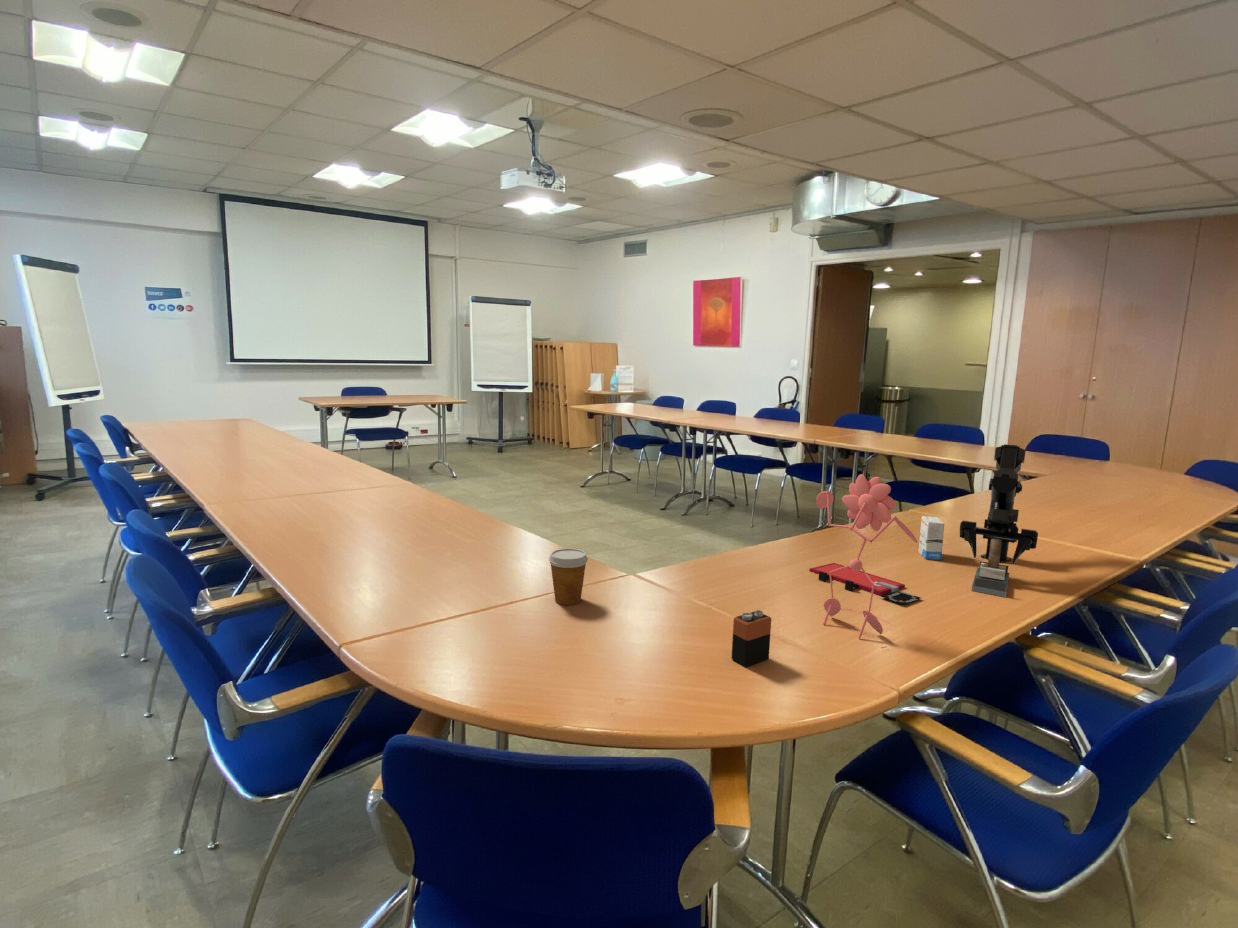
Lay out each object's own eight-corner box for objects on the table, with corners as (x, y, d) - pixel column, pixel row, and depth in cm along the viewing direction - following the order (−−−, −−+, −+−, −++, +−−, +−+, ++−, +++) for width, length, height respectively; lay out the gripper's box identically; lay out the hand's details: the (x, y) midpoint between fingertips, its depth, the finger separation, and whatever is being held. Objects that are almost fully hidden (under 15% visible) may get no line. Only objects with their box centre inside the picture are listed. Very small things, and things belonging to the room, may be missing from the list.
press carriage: (980, 570, 184) (984, 536, 182) (1004, 575, 181) (1009, 539, 179) (979, 575, 180) (983, 540, 178) (1004, 580, 177) (1008, 543, 175)
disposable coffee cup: (592, 596, 164) (593, 550, 162) (578, 610, 155) (578, 561, 153) (558, 591, 167) (558, 545, 165) (541, 604, 158) (542, 556, 156)
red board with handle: (898, 609, 160) (931, 598, 169) (899, 598, 160) (932, 587, 168) (800, 575, 184) (833, 567, 193) (801, 565, 184) (834, 558, 192)
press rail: (976, 572, 188) (978, 560, 188) (1008, 577, 184) (1010, 566, 184) (971, 590, 173) (972, 578, 173) (1006, 597, 169) (1007, 584, 169)
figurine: (892, 654, 135) (910, 488, 130) (792, 613, 156) (804, 468, 150) (931, 638, 144) (949, 482, 139) (831, 601, 165) (844, 464, 159)
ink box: (941, 560, 199) (945, 523, 197) (924, 559, 200) (928, 522, 198) (934, 552, 207) (938, 516, 205) (917, 551, 208) (921, 515, 206)
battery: (730, 659, 132) (732, 612, 130) (754, 651, 136) (756, 605, 134) (745, 668, 128) (748, 620, 126) (769, 659, 132) (773, 612, 130)
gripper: (964, 492, 185) (955, 539, 178) (1042, 501, 175) (1036, 551, 168) (963, 514, 193) (955, 559, 186) (1038, 524, 183) (1033, 572, 176)
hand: (993, 560), depth 178 cm, fingers open, 9 cm apart
